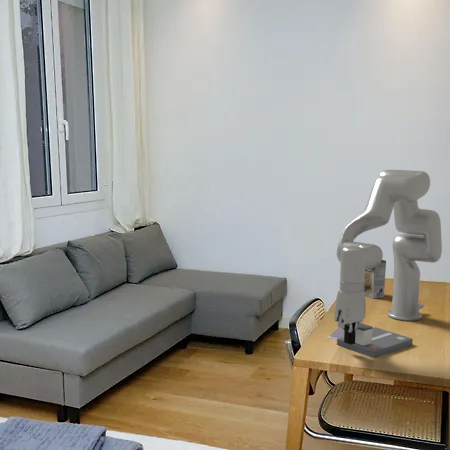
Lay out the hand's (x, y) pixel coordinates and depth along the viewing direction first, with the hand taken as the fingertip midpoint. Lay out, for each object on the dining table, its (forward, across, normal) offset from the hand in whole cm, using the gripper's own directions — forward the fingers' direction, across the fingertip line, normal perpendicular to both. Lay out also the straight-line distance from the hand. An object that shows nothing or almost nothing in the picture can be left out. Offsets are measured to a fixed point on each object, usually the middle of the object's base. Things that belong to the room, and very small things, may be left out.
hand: (349, 343), depth 187 cm
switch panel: (+3, -13, 0) cm, 13 cm away
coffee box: (+4, -63, -40) cm, 75 cm away
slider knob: (+1, -6, 0) cm, 6 cm away
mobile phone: (+4, -14, -13) cm, 19 cm away
